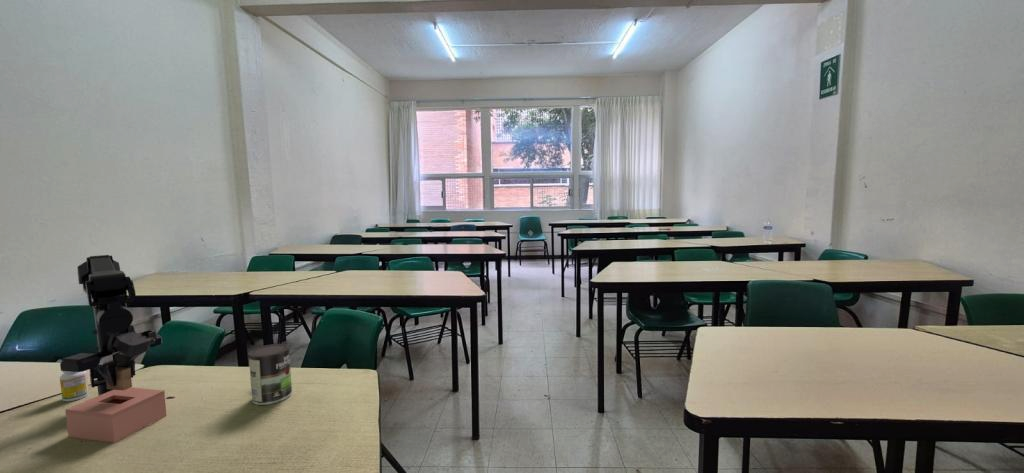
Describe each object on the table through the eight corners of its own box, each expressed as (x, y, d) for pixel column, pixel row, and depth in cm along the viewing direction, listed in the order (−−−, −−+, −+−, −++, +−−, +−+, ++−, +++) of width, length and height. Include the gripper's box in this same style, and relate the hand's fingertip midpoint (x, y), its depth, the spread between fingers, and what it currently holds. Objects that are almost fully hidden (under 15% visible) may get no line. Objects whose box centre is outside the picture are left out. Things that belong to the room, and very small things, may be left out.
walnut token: (107, 389, 101) (105, 369, 101) (116, 385, 103) (114, 366, 103) (123, 390, 100) (121, 371, 100) (132, 386, 102) (130, 367, 102)
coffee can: (299, 388, 122) (297, 343, 121) (278, 405, 112) (275, 356, 110) (266, 388, 122) (263, 343, 121) (242, 405, 112) (239, 356, 111)
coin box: (68, 436, 98) (65, 409, 97) (124, 411, 109) (121, 386, 109) (114, 442, 95) (111, 414, 94) (166, 415, 107) (164, 390, 106)
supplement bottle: (82, 399, 116) (79, 367, 115) (57, 403, 114) (53, 370, 113) (93, 391, 121) (89, 360, 120) (69, 395, 119) (65, 363, 118)
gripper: (94, 338, 90) (101, 404, 91) (176, 314, 108) (181, 370, 109) (54, 335, 91) (62, 401, 93) (142, 312, 110) (147, 367, 111)
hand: (118, 383), depth 102 cm, fingers closed on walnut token, 2 cm apart
